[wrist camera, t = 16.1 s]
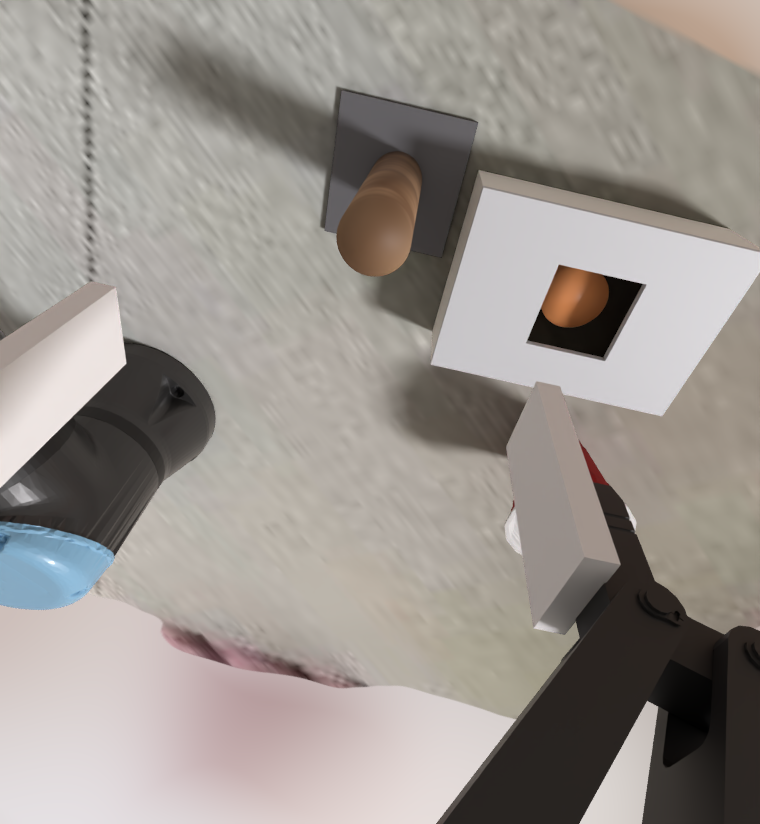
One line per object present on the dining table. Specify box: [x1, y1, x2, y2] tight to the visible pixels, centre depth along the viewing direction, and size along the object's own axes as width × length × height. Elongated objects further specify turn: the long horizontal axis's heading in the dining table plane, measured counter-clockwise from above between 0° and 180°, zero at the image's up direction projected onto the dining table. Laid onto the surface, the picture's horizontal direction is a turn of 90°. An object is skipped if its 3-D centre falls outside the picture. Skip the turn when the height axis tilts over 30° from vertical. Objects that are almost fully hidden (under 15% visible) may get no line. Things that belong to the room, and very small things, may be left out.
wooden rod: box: [336, 151, 422, 276], centre depth 32 cm, size 4×4×15 cm
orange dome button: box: [541, 265, 609, 327], centre depth 41 cm, size 5×5×2 cm
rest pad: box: [324, 90, 478, 258], centre depth 39 cm, size 10×10×1 cm
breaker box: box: [431, 170, 760, 416], centre depth 40 cm, size 20×14×6 cm
